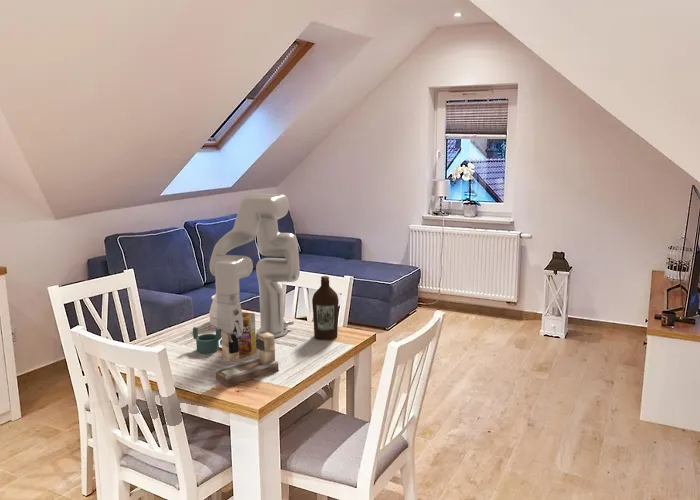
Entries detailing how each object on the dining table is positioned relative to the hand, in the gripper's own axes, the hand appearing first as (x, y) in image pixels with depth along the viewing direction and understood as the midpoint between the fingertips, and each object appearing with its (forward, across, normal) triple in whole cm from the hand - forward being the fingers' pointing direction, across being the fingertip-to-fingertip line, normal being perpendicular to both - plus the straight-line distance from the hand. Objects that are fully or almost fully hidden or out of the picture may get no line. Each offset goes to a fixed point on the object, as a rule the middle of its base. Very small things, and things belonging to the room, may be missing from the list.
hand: (230, 350), depth 197 cm
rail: (+10, 0, -6) cm, 12 cm away
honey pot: (+10, +57, -28) cm, 65 cm away
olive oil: (+10, +13, -50) cm, 53 cm away
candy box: (+10, +20, -16) cm, 28 cm away
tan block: (+3, 0, 0) cm, 3 cm away
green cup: (+11, +31, -7) cm, 34 cm away
